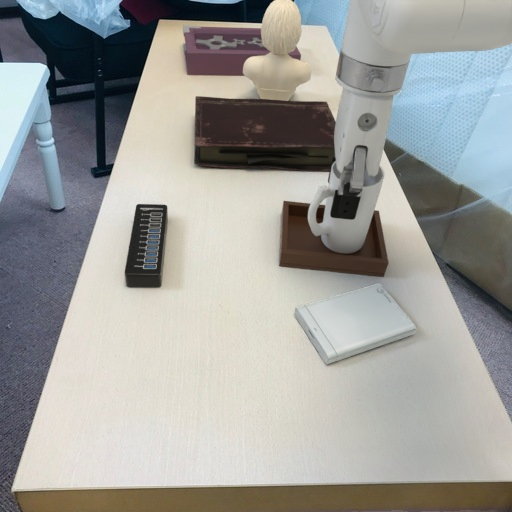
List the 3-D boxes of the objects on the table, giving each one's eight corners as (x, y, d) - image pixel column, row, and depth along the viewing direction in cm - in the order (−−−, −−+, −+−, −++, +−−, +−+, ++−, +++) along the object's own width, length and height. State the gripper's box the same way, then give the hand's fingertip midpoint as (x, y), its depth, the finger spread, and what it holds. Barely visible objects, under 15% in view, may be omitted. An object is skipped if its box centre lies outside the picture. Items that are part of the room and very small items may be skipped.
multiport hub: (125, 287, 64) (124, 274, 63) (137, 215, 75) (136, 203, 73) (161, 287, 65) (160, 274, 63) (168, 216, 75) (167, 204, 74)
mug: (349, 218, 77) (364, 151, 68) (375, 247, 73) (395, 179, 64) (290, 237, 73) (299, 168, 65) (314, 268, 69) (327, 199, 61)
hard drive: (379, 281, 66) (295, 305, 62) (417, 327, 61) (329, 357, 57) (376, 290, 68) (293, 314, 63) (413, 336, 62) (326, 366, 58)
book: (284, 49, 128) (287, 28, 124) (298, 76, 116) (301, 54, 113) (183, 46, 124) (182, 25, 120) (186, 75, 112) (186, 52, 109)
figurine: (304, 94, 110) (320, -7, 96) (306, 114, 103) (323, 9, 89) (242, 88, 109) (249, -14, 96) (239, 108, 102) (246, 1, 89)
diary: (195, 117, 98) (195, 92, 95) (322, 121, 101) (326, 97, 98) (194, 171, 85) (194, 144, 81) (341, 174, 87) (346, 149, 84)
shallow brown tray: (383, 277, 69) (388, 263, 68) (279, 266, 69) (281, 252, 68) (374, 224, 78) (379, 210, 76) (281, 214, 78) (283, 200, 76)
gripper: (418, 109, 50) (375, 245, 62) (394, 44, 63) (362, 168, 75) (342, 101, 50) (313, 239, 62) (333, 38, 63) (311, 162, 75)
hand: (340, 199), depth 68 cm, fingers closed on mug, 6 cm apart
